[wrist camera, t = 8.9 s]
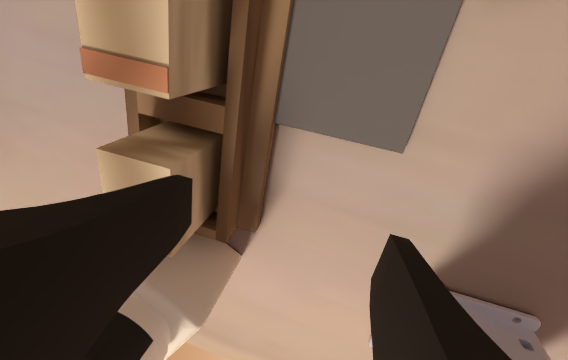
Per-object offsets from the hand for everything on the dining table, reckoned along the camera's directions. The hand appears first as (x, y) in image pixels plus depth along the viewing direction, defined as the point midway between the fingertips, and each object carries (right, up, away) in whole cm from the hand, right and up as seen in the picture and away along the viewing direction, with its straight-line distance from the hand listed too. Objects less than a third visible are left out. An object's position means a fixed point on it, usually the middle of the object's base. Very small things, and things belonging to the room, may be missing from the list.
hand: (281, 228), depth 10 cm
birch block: (-5, +10, +6) cm, 13 cm away
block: (-6, +3, +10) cm, 12 cm away
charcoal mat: (+4, +8, +6) cm, 11 cm away
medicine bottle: (-8, -5, +15) cm, 18 cm away
